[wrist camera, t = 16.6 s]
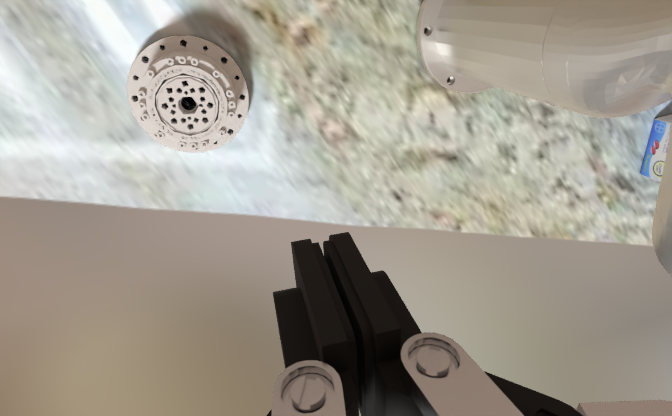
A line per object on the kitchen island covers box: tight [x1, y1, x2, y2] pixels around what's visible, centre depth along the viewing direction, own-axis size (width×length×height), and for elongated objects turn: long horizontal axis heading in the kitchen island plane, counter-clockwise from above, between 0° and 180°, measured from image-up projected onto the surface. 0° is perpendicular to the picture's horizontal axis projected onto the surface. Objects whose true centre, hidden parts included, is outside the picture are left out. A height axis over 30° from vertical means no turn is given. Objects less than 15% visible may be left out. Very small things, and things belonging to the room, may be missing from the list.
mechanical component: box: [127, 35, 249, 152], centre depth 34 cm, size 10×4×10 cm
